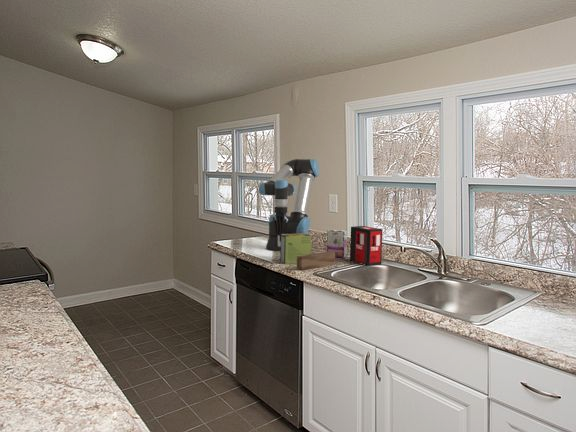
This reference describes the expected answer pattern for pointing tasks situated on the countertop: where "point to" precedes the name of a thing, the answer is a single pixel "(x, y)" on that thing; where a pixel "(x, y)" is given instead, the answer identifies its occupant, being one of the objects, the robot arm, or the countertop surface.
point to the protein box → (294, 247)
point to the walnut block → (315, 260)
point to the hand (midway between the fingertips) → (280, 246)
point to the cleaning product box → (366, 245)
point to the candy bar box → (337, 242)
